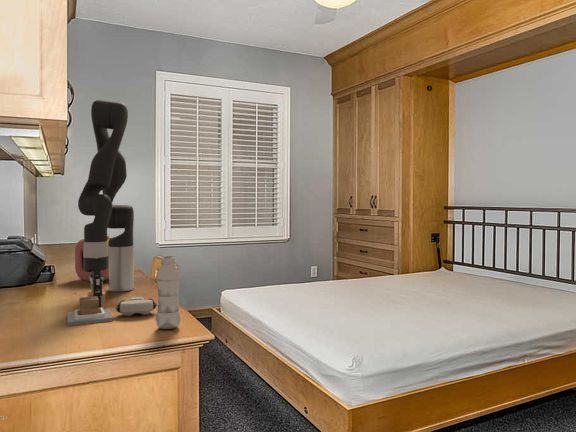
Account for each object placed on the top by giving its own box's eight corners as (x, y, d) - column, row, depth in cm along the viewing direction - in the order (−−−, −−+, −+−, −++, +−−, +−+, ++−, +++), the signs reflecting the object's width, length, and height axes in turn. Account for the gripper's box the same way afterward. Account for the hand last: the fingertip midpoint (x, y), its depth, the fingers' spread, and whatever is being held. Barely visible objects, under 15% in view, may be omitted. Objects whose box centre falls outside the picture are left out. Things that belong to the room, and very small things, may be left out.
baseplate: (67, 315, 142) (66, 309, 142) (108, 311, 147) (108, 305, 147) (67, 325, 131) (67, 318, 131) (112, 320, 137) (112, 314, 137)
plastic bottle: (158, 325, 132) (157, 255, 131) (182, 324, 132) (182, 255, 132) (153, 331, 126) (152, 258, 125) (178, 331, 126) (178, 258, 125)
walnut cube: (79, 314, 140) (79, 297, 140) (97, 312, 143) (97, 296, 142) (80, 317, 136) (80, 301, 136) (98, 316, 138) (98, 299, 138)
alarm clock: (73, 280, 202) (72, 236, 201) (93, 276, 212) (92, 234, 211) (106, 283, 195) (105, 237, 194) (124, 279, 205) (124, 235, 204)
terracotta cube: (87, 307, 153) (87, 292, 153) (104, 305, 156) (103, 290, 155) (89, 310, 149) (88, 295, 149) (105, 308, 151) (105, 293, 151)
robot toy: (116, 311, 152) (115, 319, 138) (116, 297, 152) (115, 304, 138) (155, 308, 156) (157, 316, 142) (155, 295, 156) (157, 301, 142)
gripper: (82, 253, 156) (83, 303, 157) (84, 258, 143) (85, 313, 144) (106, 252, 160) (106, 301, 160) (110, 257, 147) (111, 310, 147)
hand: (96, 306), depth 152 cm, fingers closed on terracotta cube, 5 cm apart
